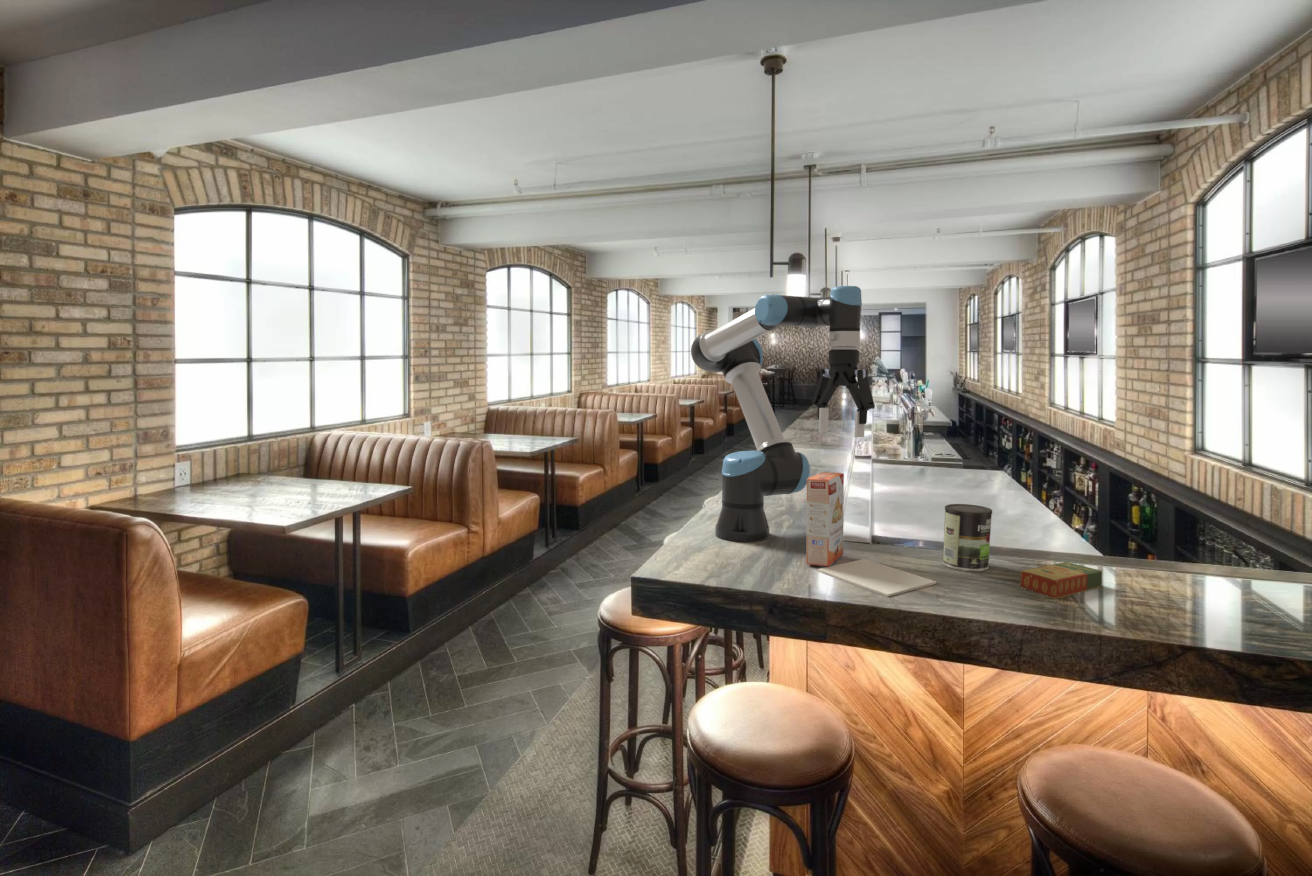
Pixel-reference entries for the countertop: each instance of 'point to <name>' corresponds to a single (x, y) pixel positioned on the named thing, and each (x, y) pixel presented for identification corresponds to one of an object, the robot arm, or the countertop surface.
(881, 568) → the mat
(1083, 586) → the carton
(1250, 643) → the countertop surface
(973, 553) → the coffee can
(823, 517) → the cracker box
